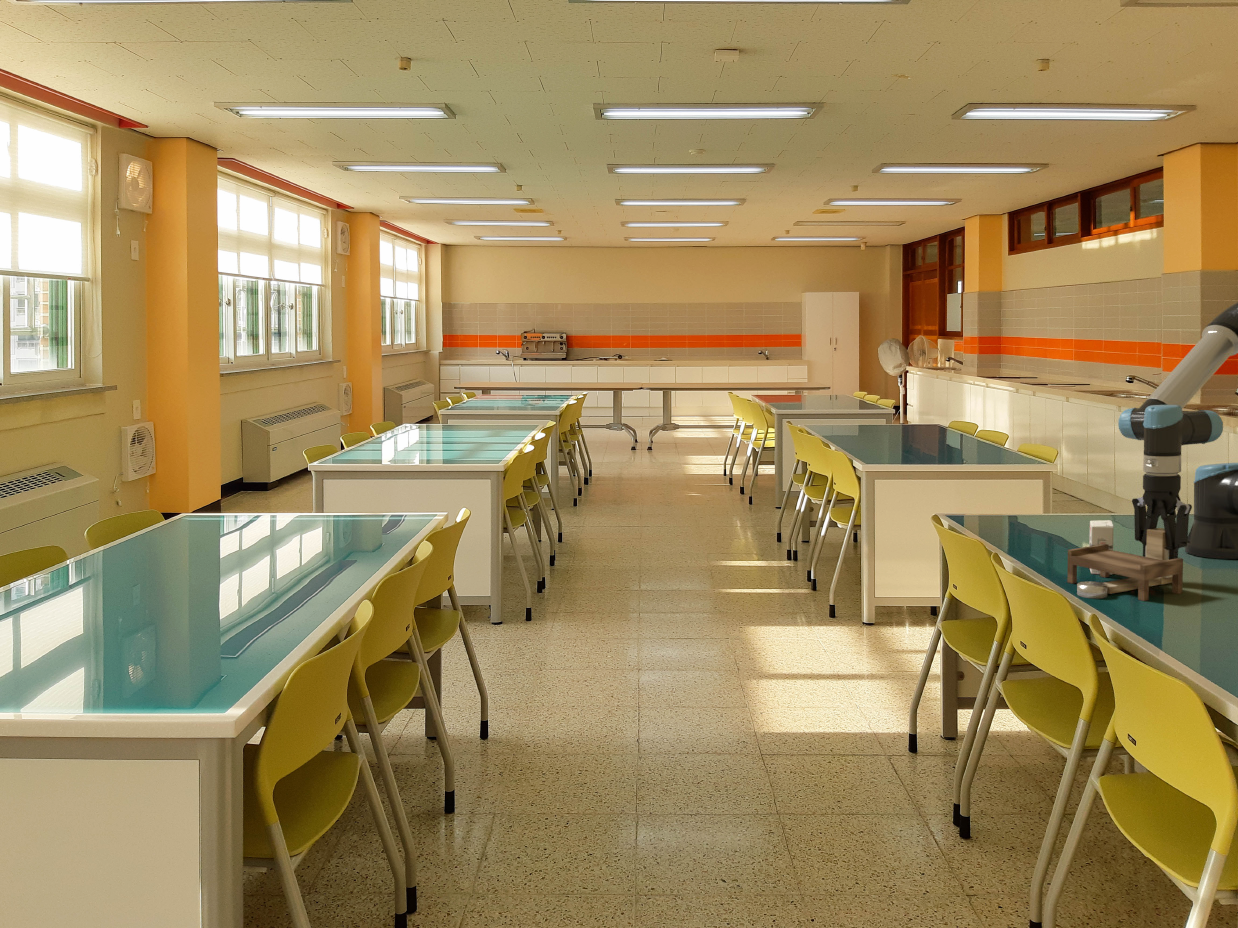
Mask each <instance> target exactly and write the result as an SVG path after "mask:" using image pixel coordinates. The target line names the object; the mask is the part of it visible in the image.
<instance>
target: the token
mask: <svg viewBox="0 0 1238 928" xmlns="http://www.w3.org/2000/svg"><path fill="white" fill-rule="evenodd" d="M1104 583H1105V582H1098V581H1080V582H1077V583H1076V587H1077V588H1076V591H1077V592H1076V594H1077V596H1078V597H1082V598H1084V599H1085V598H1087V599H1096V600H1097V599H1105V598H1107V597H1108V593H1107V585H1106V584H1104Z"/></svg>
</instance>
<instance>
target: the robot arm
mask: <svg viewBox="0 0 1238 928" xmlns="http://www.w3.org/2000/svg"><path fill="white" fill-rule="evenodd" d="M1237 354H1238V301H1237V302H1235V303H1234V304H1232V305H1230V306H1228V307H1227V308H1226V309H1225V310H1223V311H1221V312H1220V313H1219V314H1218V315H1217V316H1216V317H1214V318H1213V319H1212V320H1211V321H1210V323H1208V324H1207V325H1206V326H1205V328H1204V329H1203V330H1202V332H1201V339H1199V340H1198V342H1196V344H1195V346H1193V347H1192V348H1191V349H1190V351H1189V352H1188V353H1187V354H1186V355H1185V356H1184V358H1182V359H1181V360H1180V362H1179V363H1178V364H1177V365H1176V367H1174V368H1173V369H1172V371H1171V372H1170V373H1169V374H1168V375H1167V377H1166V378H1164V380H1163V381H1162V382H1161V383H1160V384H1159V385H1158V386H1157V387H1156V389H1154V391H1153V392H1152V393H1151V394H1150V395H1149V396H1148V397H1147V399H1146V400H1145V401H1144V402H1143V403H1142V404H1141V406H1139V407H1131V408H1127V409H1125V410H1123V411H1122V412H1121V414H1120V415H1119V417H1118V421H1117V422H1118V425H1117V426H1118V429H1119V432H1120V434H1121V435H1122V436H1123V437H1124V438H1128V439H1132V440H1136V441H1143V465H1142V466H1143V467H1142V468H1143V472H1144V474H1143V475H1142V490H1144V493H1143V494H1142V497H1141V496H1140V497H1137V498H1132V499H1131V502H1132V505H1133V509H1134V510H1133V512H1134V513H1133V515H1134V517H1133V518H1134V540H1135V541H1137V542H1140V543H1142V556H1144V557H1146V547H1147V530H1148V529H1155V528H1158V522H1159V518H1161V520H1162V522H1163V529H1165V535H1166V541H1167V547H1165V548H1166V549H1164V561H1165V560H1170V559H1176V558H1179V549H1182V548H1184V552H1185V553H1187V554H1189V555H1192V556H1195V557H1196V556H1197V557H1202V558H1209V559H1219V560H1220V559H1222V560H1238V462H1227V463H1212V464H1204V465H1203V464H1202V465H1199V466H1198V467H1197V468H1196V469H1195V473H1194V481H1193V506H1192V504H1190V503H1187V504H1186V503H1184V502H1183V501H1181V497H1180V491H1181V488H1182V487H1181V483H1182V477H1181V475H1180V474H1179V473H1181V472H1182V446H1188V445H1200V444H1202V445H1205V444H1207V443H1212V442H1215V441H1217V440H1218V439H1219V438H1220V437H1221V436H1222V433H1223V431H1224V422H1223V419H1222V418H1221V416H1220V415H1219V414H1218V413H1217V412H1215V411H1213V410H1205V409H1203V410H1202V409H1198V410H1183V409H1184V408H1185V406H1186V405H1187V404H1188V403H1189V402H1190V401H1191V400H1192V399H1193V398H1194V397H1195V395H1196V394H1197V393H1198V392H1199V391H1200V390H1201V389H1202V388H1203V386H1204V385H1205V384H1206V383H1207V382H1208V381H1209V380H1210V379H1211V378H1212V377H1213V375H1215V373H1216V372H1217V371H1218V370H1219V368H1221V366H1222V365H1223V364H1224V363H1225V361H1227V360H1228V358H1229V357H1232V356H1235V355H1237ZM1192 509H1193V523H1192V525H1191V527H1190V530H1189V523H1190V522H1189V521H1190V513H1191V511H1192ZM1169 577H1172V575H1170V576H1165V578H1169Z"/></svg>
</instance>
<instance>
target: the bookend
mask: <svg viewBox="0 0 1238 928" xmlns="http://www.w3.org/2000/svg"><path fill="white" fill-rule="evenodd" d="M1165 547H1167V541H1166V535H1165V529H1164V527H1157V528H1155V529H1148V530H1147V547H1146V557H1149V558H1154V559H1159V560H1164V549H1166V548H1165ZM1103 583H1104V584H1106V585H1107V595H1108V594H1109V595H1112V594H1117V593H1122V592H1128V591H1133V590H1138V579H1135V578H1131V577H1127V578H1122V579H1117V580H1112V581H1111V580H1110V581H1105V582H1103ZM1166 584H1172V577H1169V578H1165V577H1160V578H1155V579H1149V587H1153V586H1158V585H1166Z"/></svg>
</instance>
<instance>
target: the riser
mask: <svg viewBox="0 0 1238 928" xmlns="http://www.w3.org/2000/svg"><path fill="white" fill-rule="evenodd" d="M1108 548H1109V545H1108V544H1101V545H1095V546H1089V545H1088V546H1085V547H1084V546H1083V547H1079V548H1072V549H1067V583H1068V584H1073V585H1074V584H1077V583H1078V576H1077V575H1078V567H1083V568H1087V569H1089V570H1090V569H1095V570H1099V571H1100V574H1099V577H1101V578H1109V577H1111V576H1110V573H1113V574H1115V575H1118V576H1122V577H1127V578H1135V579H1138V589H1137V593H1138V594H1137V599H1138V601H1143V602H1145V601H1146V602H1147V601H1149V597H1150V596H1149V593H1150V592H1149V589H1150V586H1149V579H1155V578H1160V577H1165V576H1170V575H1172V583H1171V593H1172V594H1175V595H1180V594H1183V579H1184V577H1183V575H1184V559H1183V558H1180V557H1178V558H1176V559H1170V560H1165V561H1164V560H1159V559H1154V558H1149V557H1144V556H1143V555H1139V554H1132V553H1128V552H1122V551H1118V550H1114V549H1113V550H1108Z"/></svg>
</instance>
